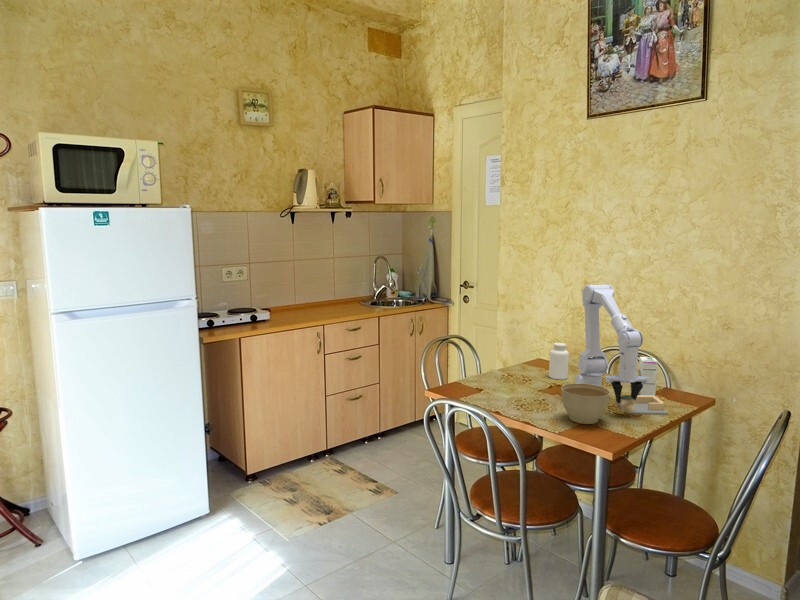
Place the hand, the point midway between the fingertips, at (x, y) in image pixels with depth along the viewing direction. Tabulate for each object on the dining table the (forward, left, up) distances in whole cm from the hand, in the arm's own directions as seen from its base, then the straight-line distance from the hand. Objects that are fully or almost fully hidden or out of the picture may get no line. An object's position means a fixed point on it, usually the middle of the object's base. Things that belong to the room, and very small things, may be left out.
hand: (625, 402), depth 197 cm
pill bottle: (-11, +47, -5) cm, 48 cm away
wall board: (+9, +7, -5) cm, 13 cm away
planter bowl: (-16, -5, -5) cm, 18 cm away
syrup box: (+18, +25, -5) cm, 31 cm away
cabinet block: (0, 0, -2) cm, 2 cm away
